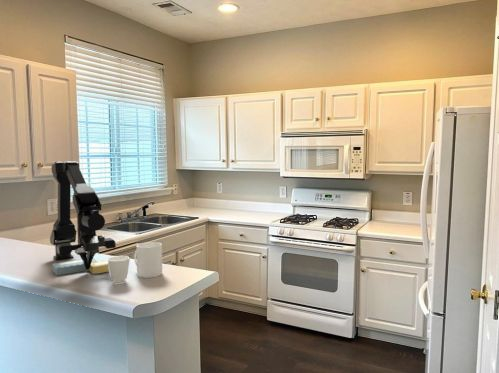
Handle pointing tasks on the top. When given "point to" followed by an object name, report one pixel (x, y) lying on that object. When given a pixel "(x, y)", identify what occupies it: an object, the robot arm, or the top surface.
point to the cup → (118, 268)
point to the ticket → (69, 267)
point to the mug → (149, 259)
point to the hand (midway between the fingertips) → (87, 269)
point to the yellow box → (99, 267)
